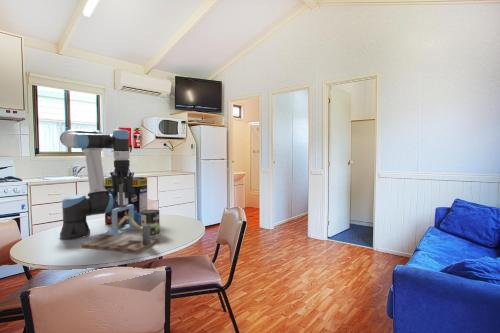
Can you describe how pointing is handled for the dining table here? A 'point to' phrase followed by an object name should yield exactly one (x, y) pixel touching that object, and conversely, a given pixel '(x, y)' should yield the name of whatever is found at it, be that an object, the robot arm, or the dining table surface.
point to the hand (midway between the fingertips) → (123, 204)
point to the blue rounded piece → (135, 218)
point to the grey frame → (114, 215)
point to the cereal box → (135, 197)
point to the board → (119, 243)
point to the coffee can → (151, 221)
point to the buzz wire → (144, 229)
